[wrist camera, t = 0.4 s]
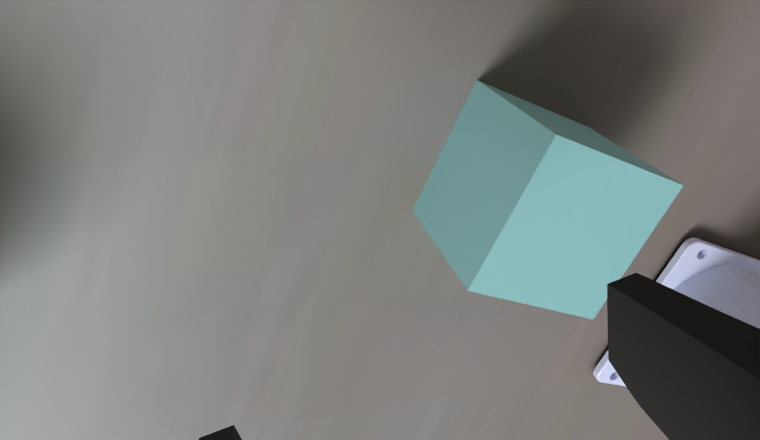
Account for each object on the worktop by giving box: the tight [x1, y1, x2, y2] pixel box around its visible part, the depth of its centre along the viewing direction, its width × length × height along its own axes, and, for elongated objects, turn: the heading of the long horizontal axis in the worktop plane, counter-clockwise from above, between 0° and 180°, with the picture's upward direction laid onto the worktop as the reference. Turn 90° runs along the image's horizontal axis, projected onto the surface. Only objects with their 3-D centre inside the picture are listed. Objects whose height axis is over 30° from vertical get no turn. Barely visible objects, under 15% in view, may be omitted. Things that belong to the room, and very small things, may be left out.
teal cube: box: [412, 80, 683, 319], centre depth 19 cm, size 5×5×5 cm
